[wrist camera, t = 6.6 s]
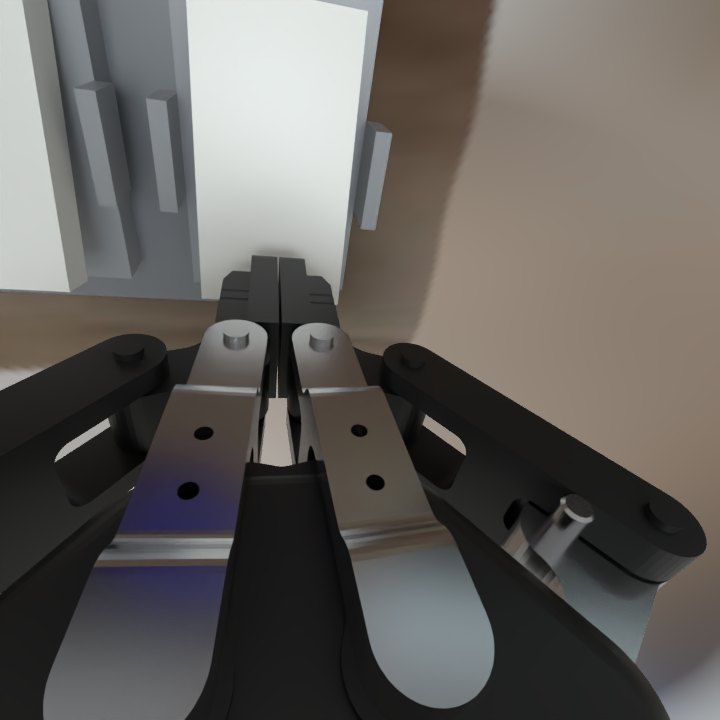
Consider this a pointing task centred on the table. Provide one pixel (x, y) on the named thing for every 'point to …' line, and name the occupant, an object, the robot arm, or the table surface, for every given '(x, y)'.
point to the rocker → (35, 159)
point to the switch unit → (160, 143)
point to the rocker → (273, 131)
